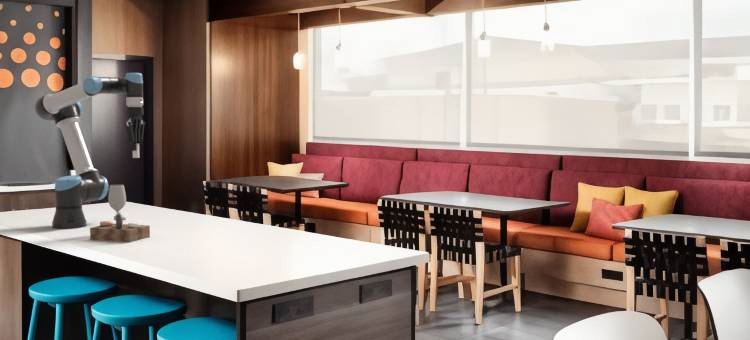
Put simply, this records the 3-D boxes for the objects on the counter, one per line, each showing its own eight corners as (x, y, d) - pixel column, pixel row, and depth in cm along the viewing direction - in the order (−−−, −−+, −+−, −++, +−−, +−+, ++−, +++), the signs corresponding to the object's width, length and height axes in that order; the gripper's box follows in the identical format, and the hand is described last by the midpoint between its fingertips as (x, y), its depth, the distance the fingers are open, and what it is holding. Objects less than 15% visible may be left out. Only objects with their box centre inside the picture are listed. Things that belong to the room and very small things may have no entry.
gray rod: (114, 229, 359) (114, 212, 358) (118, 228, 361) (118, 211, 361) (119, 229, 358) (119, 212, 358) (123, 228, 360) (122, 212, 360)
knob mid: (111, 231, 365) (111, 216, 364) (118, 229, 369) (118, 215, 369) (121, 231, 363) (121, 217, 363) (128, 230, 368) (128, 215, 367)
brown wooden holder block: (90, 239, 363) (89, 227, 363) (110, 234, 376) (110, 223, 376) (130, 242, 357) (130, 230, 356) (149, 237, 370) (149, 225, 369)
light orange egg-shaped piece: (98, 236, 367) (97, 222, 367) (105, 235, 372) (104, 220, 371) (107, 237, 366) (107, 222, 365) (115, 235, 370) (114, 221, 370)
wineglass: (105, 232, 383) (104, 185, 381) (118, 230, 390) (116, 184, 388) (118, 233, 379) (116, 186, 378) (130, 231, 386) (129, 184, 384)
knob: (125, 238, 363) (125, 223, 362) (132, 236, 367) (132, 222, 367) (135, 239, 361) (135, 224, 360) (142, 237, 366) (142, 222, 365)
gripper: (133, 106, 387) (134, 158, 389) (150, 106, 399) (151, 157, 401) (119, 106, 389) (120, 158, 391) (136, 106, 401) (137, 156, 403)
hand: (136, 157), depth 396 cm, fingers closed
